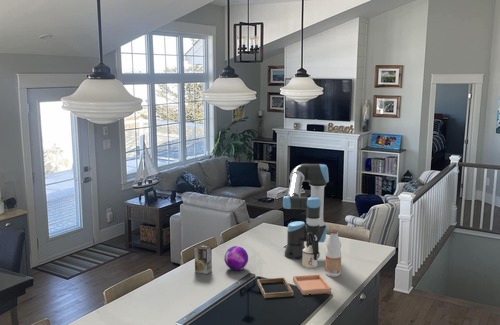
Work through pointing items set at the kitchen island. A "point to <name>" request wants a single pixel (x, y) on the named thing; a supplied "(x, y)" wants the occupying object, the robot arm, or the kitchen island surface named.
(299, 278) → the terracotta dish
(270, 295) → the walnut corral
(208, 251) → the coffee box
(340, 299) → the kitchen island surface
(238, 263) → the decorative orb
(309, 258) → the teacup with lid
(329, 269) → the fruit juice
